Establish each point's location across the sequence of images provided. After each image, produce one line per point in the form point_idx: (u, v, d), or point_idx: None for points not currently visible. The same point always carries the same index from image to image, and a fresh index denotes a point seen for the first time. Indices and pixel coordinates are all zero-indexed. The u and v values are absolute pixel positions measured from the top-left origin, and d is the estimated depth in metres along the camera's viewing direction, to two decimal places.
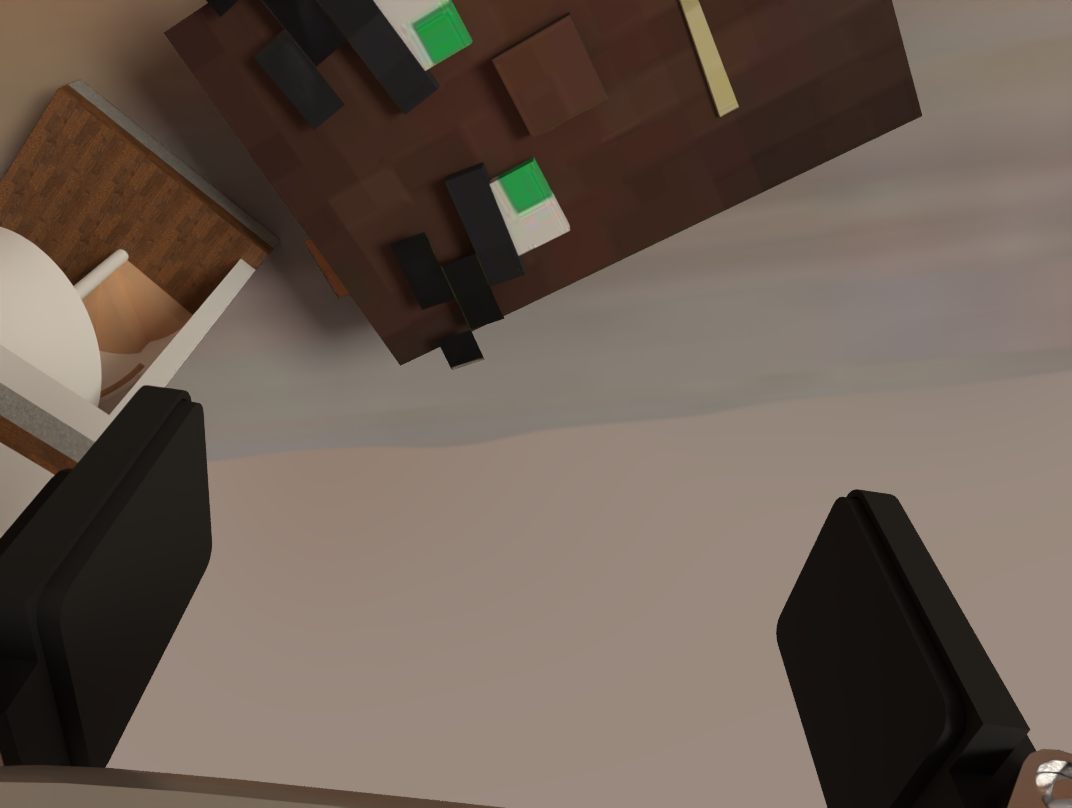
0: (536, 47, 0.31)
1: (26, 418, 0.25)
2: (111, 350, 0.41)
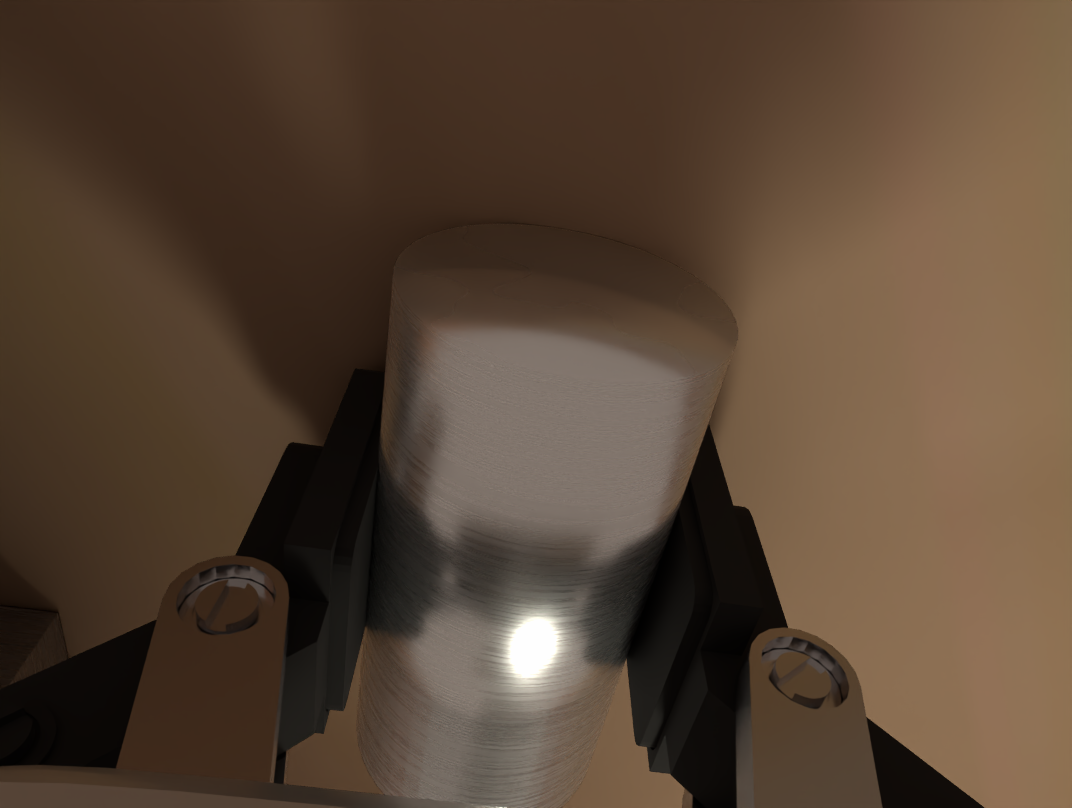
0: None
1: None
2: None
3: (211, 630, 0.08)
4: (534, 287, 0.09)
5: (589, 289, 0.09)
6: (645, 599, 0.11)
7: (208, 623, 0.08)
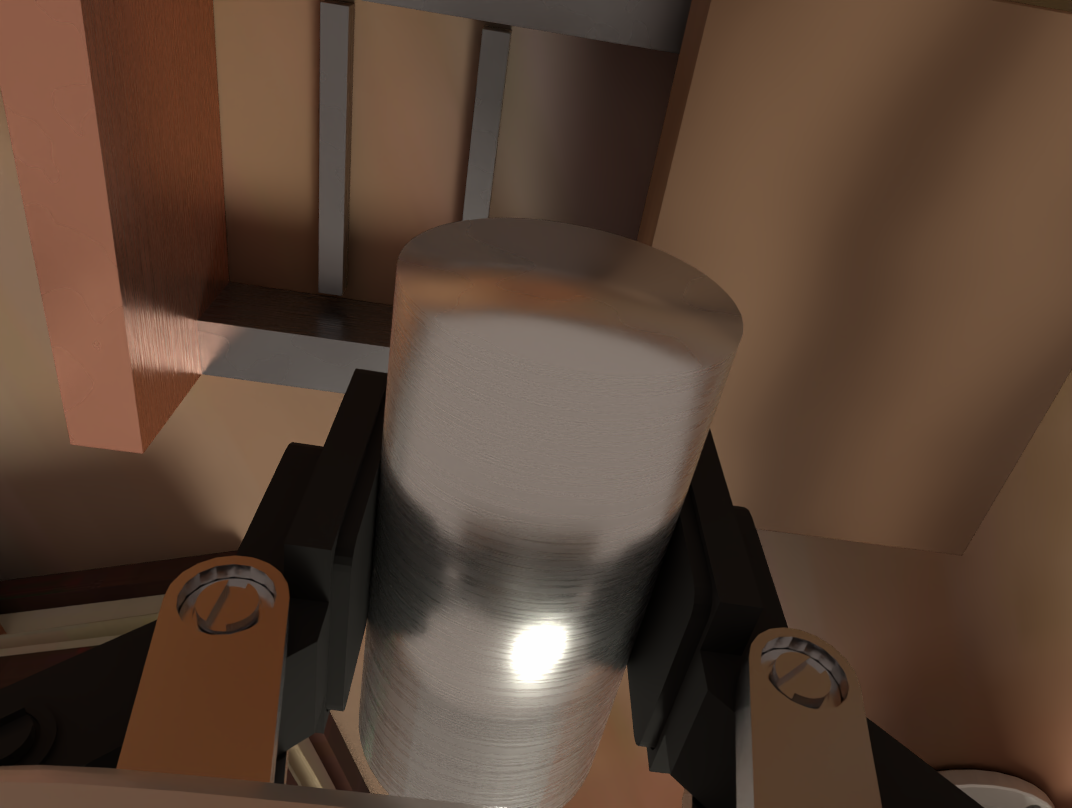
0: None
1: None
2: None
3: (211, 630, 0.08)
4: (537, 281, 0.09)
5: (593, 282, 0.09)
6: (649, 595, 0.11)
7: (208, 623, 0.08)
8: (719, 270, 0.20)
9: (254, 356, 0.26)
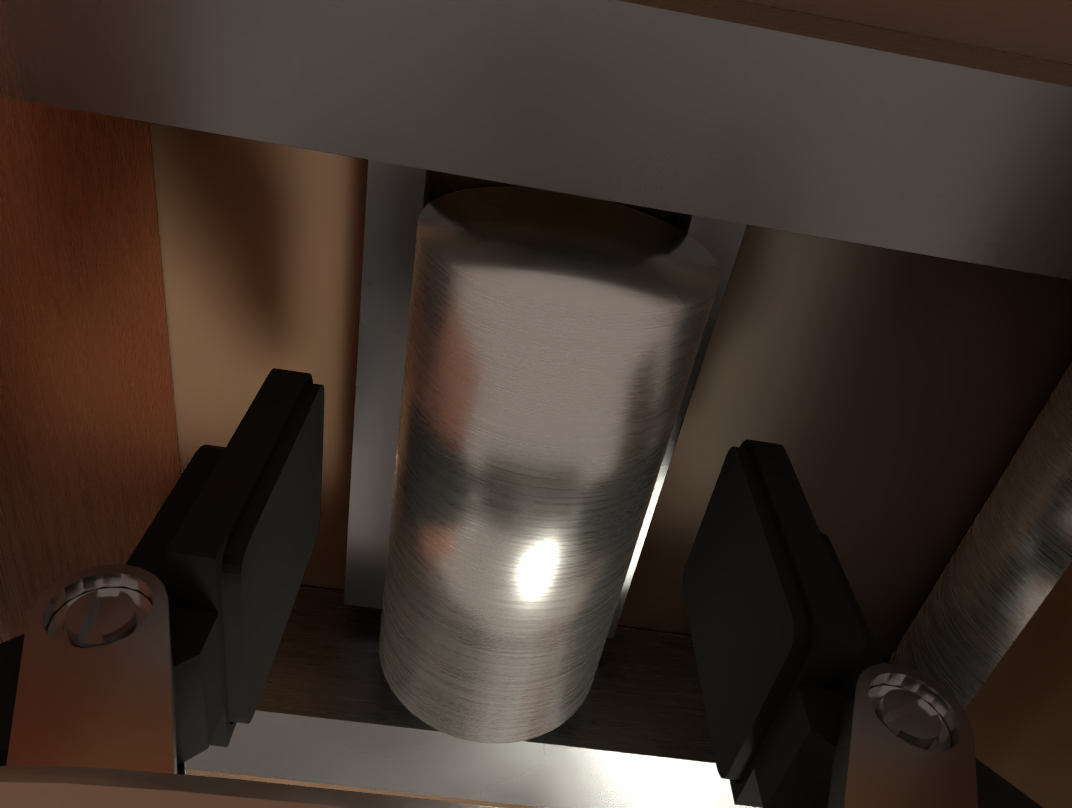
0: None
1: None
2: None
3: (86, 644, 0.08)
4: (541, 237, 0.10)
5: (589, 239, 0.11)
6: (641, 521, 0.12)
7: (82, 638, 0.08)
8: None
9: (230, 743, 0.15)
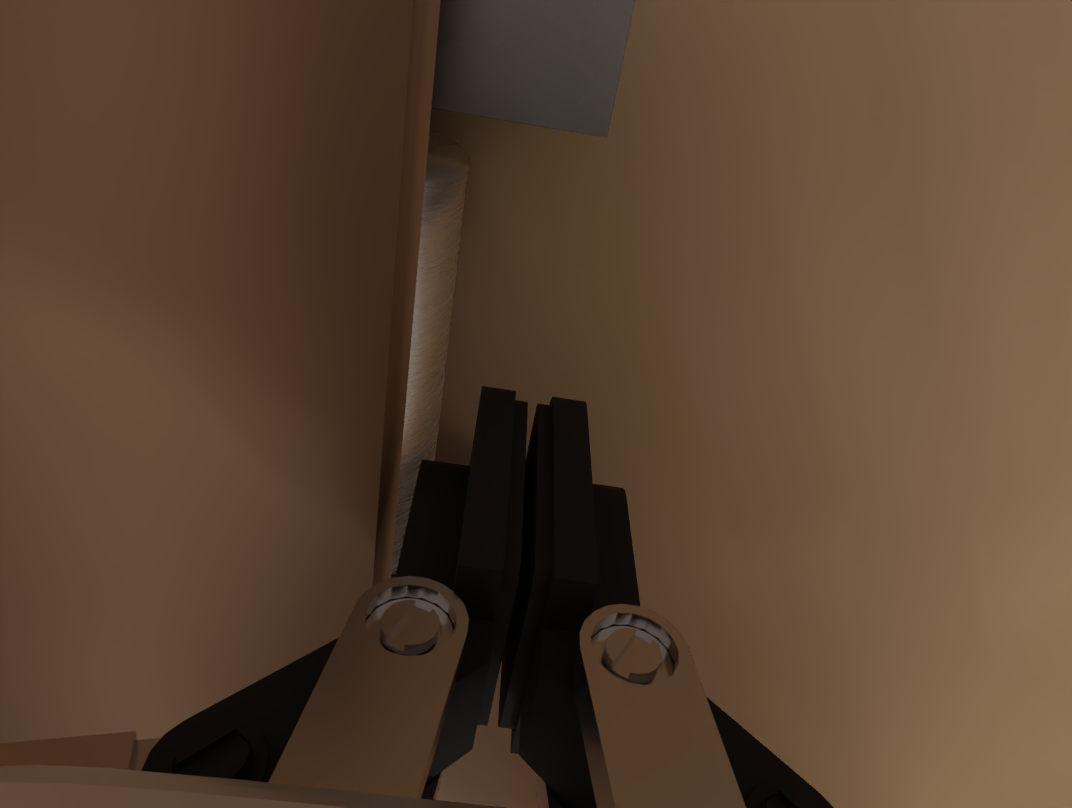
0: None
1: None
2: None
3: (390, 647, 0.08)
4: None
5: None
6: None
7: (389, 639, 0.08)
8: None
9: None
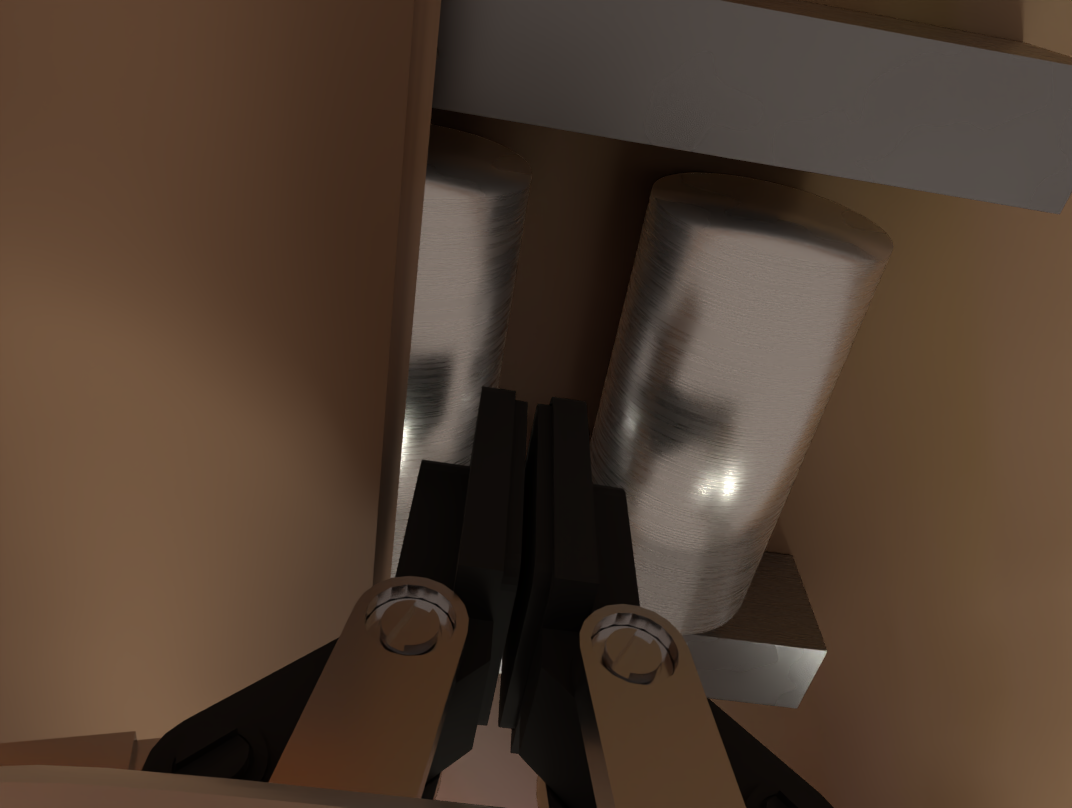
0: None
1: None
2: None
3: (390, 647, 0.08)
4: None
5: None
6: None
7: (389, 639, 0.08)
8: None
9: None
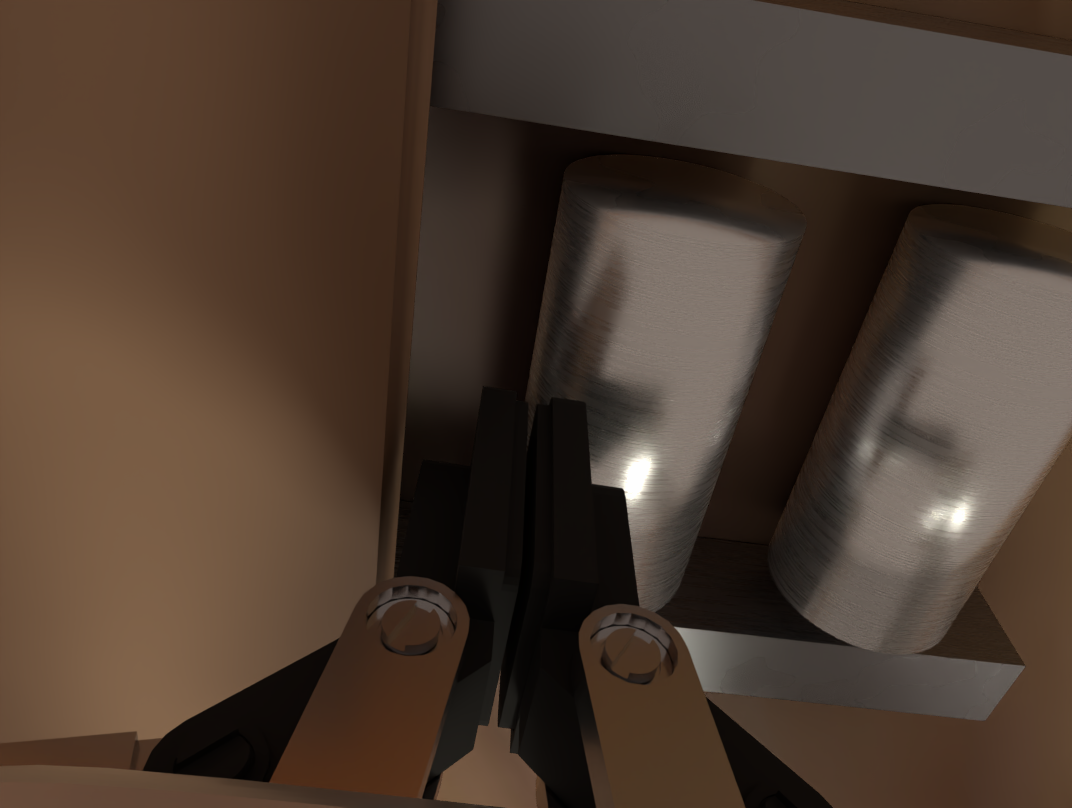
0: None
1: None
2: None
3: (391, 647, 0.08)
4: None
5: None
6: None
7: (390, 639, 0.08)
8: None
9: None
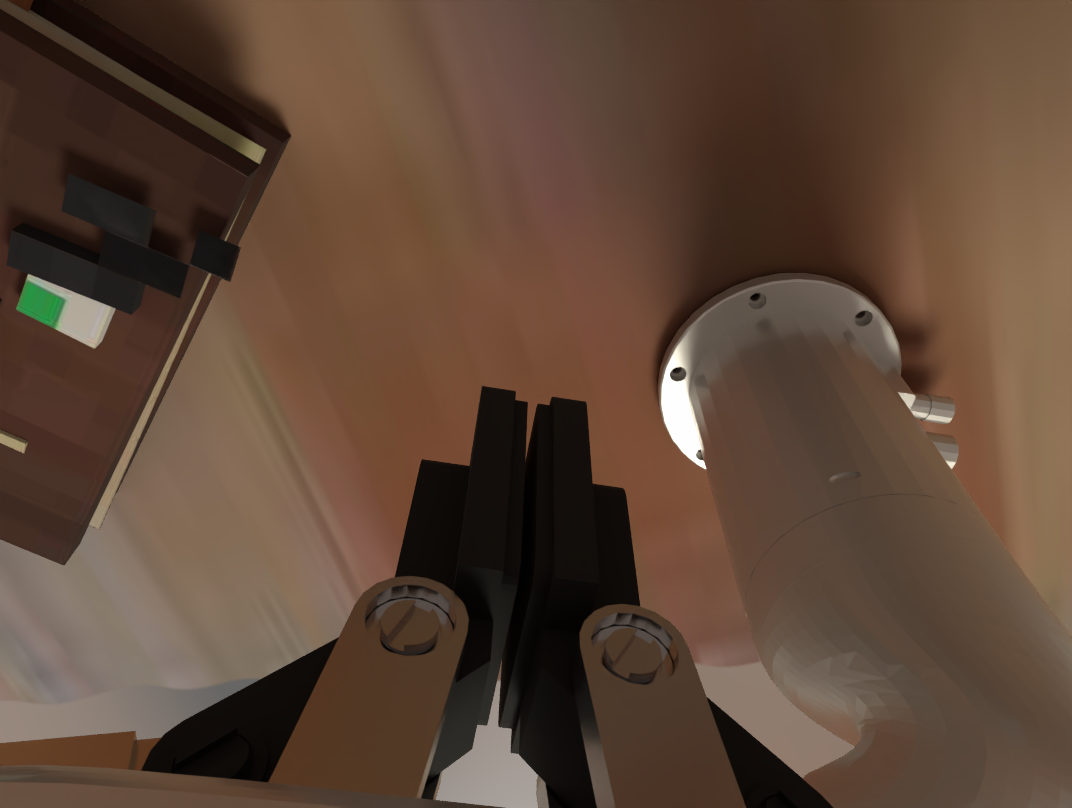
0: None
1: None
2: None
3: (390, 646, 0.08)
4: None
5: None
6: None
7: (389, 639, 0.08)
8: None
9: None
